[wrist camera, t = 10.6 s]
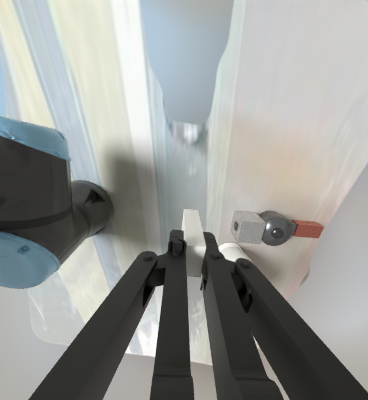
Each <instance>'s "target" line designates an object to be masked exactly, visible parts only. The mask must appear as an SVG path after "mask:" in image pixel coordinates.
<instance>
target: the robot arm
mask: <svg viewBox="0 0 368 400" xmlns="http://www.w3.org/2000/svg"><path fill="white" fill-rule="evenodd" d="M70 161H71V159H70V157H69V152H68V144H67V140H66V138H65V136H64V135H63V134H62V133H61V132H60V131H58V130H56V129H52V128H48V127H44V126H39V125H35V124H31V123H27V122H22V121H18V120H14V119H9V118H5V117H1V116H0V286H3V287H7V288H15V289H16V288H17V289H24V288H30V287H34V286H37V285H39V284H40V283H42V282H44V281H45V280H46V279H47V278H48V277H49V276H50V275H52V274H53V273H54V272H56V271H57V270H58V269H59V267H60V266H61V265H62V264H63V263H64V262H65V260H66V259H67V258H68V257H69V256H70V255H71V254H72V253H73V252H74V251H75V250H76V249H77V248H78V247H79V245H80V244H81V243H82V242H83V241H84V240H85V239H86V238H88V237H91V236H93V235H95V234H98V233H100V232H101V231H102V230H104V229H105V228H106V227H107V225H108V224H109V223H110V221H111V219H112V216H113V206H112V202H111V200H110V198H109V196H108V195H107V194H106V193H105V191H103V190H102V189H101V188H100V187H98V186H97V185H95V184H93V183H91V182H87V181H82V180H76V181H71V172H70ZM201 274H202V276H203V277H202V282H201V288H200V290H202V289H203V297H204V304H205V311H206V319H207V326H208V334H209V341H210V349H211V356H212V363H213V371H214V378H215V386H216V393H217V400H284V399H283V396H282V394H281V392H280V390H279V388H278V386H277V385H276V383H275V382H274V381H272V380H270V379H269V378H268V376H267V374H266V372H265V369H264V366H263V364H262V361H261V358H260V355H259V352H258V349H257V347H256V344H255V341H254V338H255V339H256V341H257V343H258V345H259V346H260V348H261V350H262V352H263V353H264V355H265V357H266V359H267V360H268V362H269V364H270V366H271V367H272V369H273V371H274V373H275V374H276V376H277V378H278V380H279V381H280V383H281V385H282V387H283V388H284V390H285V392H286V394H287V395H288V397H289V399H290V400H368V393H367V391H366V390H365V389H364V388H363V387H362V386H361V384H360V383H359V382H358V381H357V380H356V379H355V378H354V377H353V375H352V374H351V373H350V372H349V371H348V370H347V369H346V368H345V366H344V365H343V364H342V363H341V362H340V361H339V360H338V359H337V357H336V356H335V355H334V354H333V353H332V352H331V351H330V349H329V348H328V347H327V346H326V345H325V344H324V343H323V342H322V340H321V339H320V338H319V337H318V336H317V335H316V334H315V333H314V332H313V330H312V329H311V328H310V327H309V326H308V325H307V324H306V323H305V321H304V320H303V319H302V318H301V317H300V316H299V315H298V313H296V311H295V310H294V309H293V308H292V307H291V306H290V304H289V303H288V302H287V301H286V300H285V299H284V298H283V296H282V295H281V294H280V293H279V292H278V291H277V290H276V289H275V287H274V286H273V285H272V284H271V283H270V282H269V281H268V280H267V278H266V277H265V276H264V275H263V274H262V273H261V272H260V271H259V269H258V268H257V267H256V266H255V265H254V264H253V263H252V262H251V261H249V260H248V259H245V258H238V259H236V261H235V262H233V261H230V260H227V259H225V257H224V255H223V254H222V253H221V252H219V249H218V246H217V243H216V240H215V237H214V235H213V234H212V233H210V232H203V231H202V226H201V222H200V217H199V213H198V210H192V209H184V213H183V222H182V231H181V230H172V231H171V232H170V239H169V243H168V251H167V253H165V254H163V255H160V256H157V254H156V253H154V252H151V251H146V252H142V253H141V254H140V255H139V256H138V257H137V258H136V259H135V261H134V262H133V263H132V265H131V266H130V267H129V269H128V270H127V271H126V273H125V274H124V275H123V276H122V278H121V279H120V280H119V282H118V283H117V284H116V286H115V287H114V288H113V290H112V291H111V292H110V294H109V295H108V296H107V297H106V299H105V300H104V301H103V303H102V304H101V305H100V307H99V308H98V309H97V311H96V312H95V313H94V314H93V316H92V317H91V318H90V320H89V321H88V322H87V324H86V325H85V326H84V328H83V329H82V330H81V331H80V333H79V334H78V335H77V337H76V338H75V339H74V341H73V342H72V343H71V345H70V346H69V347H68V348H67V350H66V351H65V352H64V354H63V355H62V356H61V358H60V359H59V360H58V362H57V363H56V364H55V366H54V367H53V368H52V369H51V371H50V372H49V373H48V375H47V376H46V377H45V379H44V380H43V381H42V383H41V384H40V385H39V386H38V388H37V389H36V390H35V392H34V393H33V394H32V396H31V397H30V398H29V400H102V399H103V398H104V395H105V393H106V391H107V389H108V387H109V385H110V383H111V381H112V378H113V376H114V374H115V372H116V370H117V368H118V366H119V364H120V362H121V360H122V358H123V355H124V353H125V351H126V349H127V347H128V345H129V343H130V341H131V339H132V337H133V334H134V332H135V330H136V328H137V326H138V324H139V322H140V320H141V318H142V315H143V313H144V311H145V309H146V307H147V305H148V303H149V301H150V299H151V297H152V294H153V292H154V290H155V287H156V286H161V285H164V288H163V296H162V305H161V313H160V322H159V330H158V339H157V347H156V356H155V364H154V372H153V378H152V386H151V394H150V400H194V387H193V379H192V376H191V370H190V346H189V321H188V296H187V276H194V277H201ZM251 332H252V333H251ZM252 334H253V335H252ZM253 336H254V338H253Z"/></svg>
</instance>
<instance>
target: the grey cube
mask: <svg viewBox="0 0 368 400" xmlns="http://www.w3.org/2000/svg"><path fill="white" fill-rule="evenodd" d="M265 226H266V222H265V221H264V220H263V219H262V218H261V217H260V216H259V215H258V214H257V213H251V212H240V211H235V213H234V218H233V222H232V226H231V232H232V233H233V235H234V237H235V239H236V241H237V242H243V243H255V244H260V242H261V239H262V235H263V232H264V229H265Z"/></svg>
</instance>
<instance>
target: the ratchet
mask: <svg viewBox="0 0 368 400" xmlns="http://www.w3.org/2000/svg"><path fill="white" fill-rule="evenodd" d="M259 216H260V217H261V218H262V219H263V220H264V221H265V222H266V226H265V229H264V232H263V235H262V240H263V242H264V243H266V244H267V245H270V246H277V245H281V244H283V243H285V242H286V241H287V240H288V239H289V238H290V236H291V235H294V236H299V237H310V238H319V236H320V234H321V231H322V229H323V226H321V225H320V224H318V223H317V222H309V221H298V220H292V221H290V220H286V219H285V218H283V217H282V216H281V215H279V214H278V213H277V212H275V211H265V212H263V213H261V214H259Z"/></svg>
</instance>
